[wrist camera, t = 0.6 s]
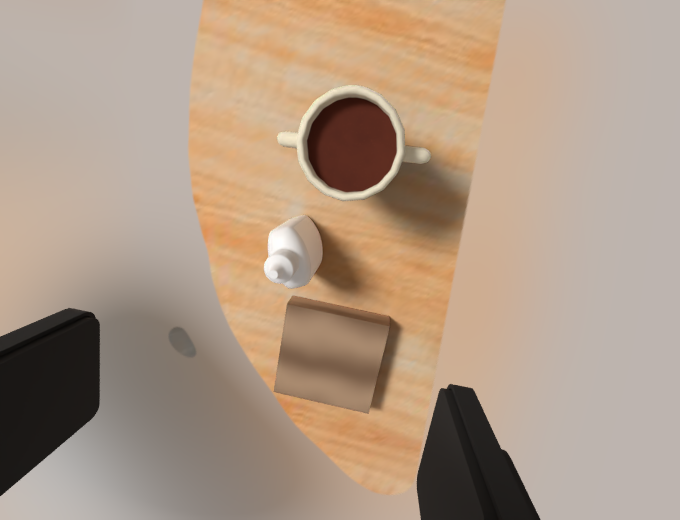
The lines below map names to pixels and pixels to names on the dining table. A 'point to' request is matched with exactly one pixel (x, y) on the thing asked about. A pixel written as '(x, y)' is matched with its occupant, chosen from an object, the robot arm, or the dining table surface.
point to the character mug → (351, 143)
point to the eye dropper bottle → (293, 252)
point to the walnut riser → (331, 353)
